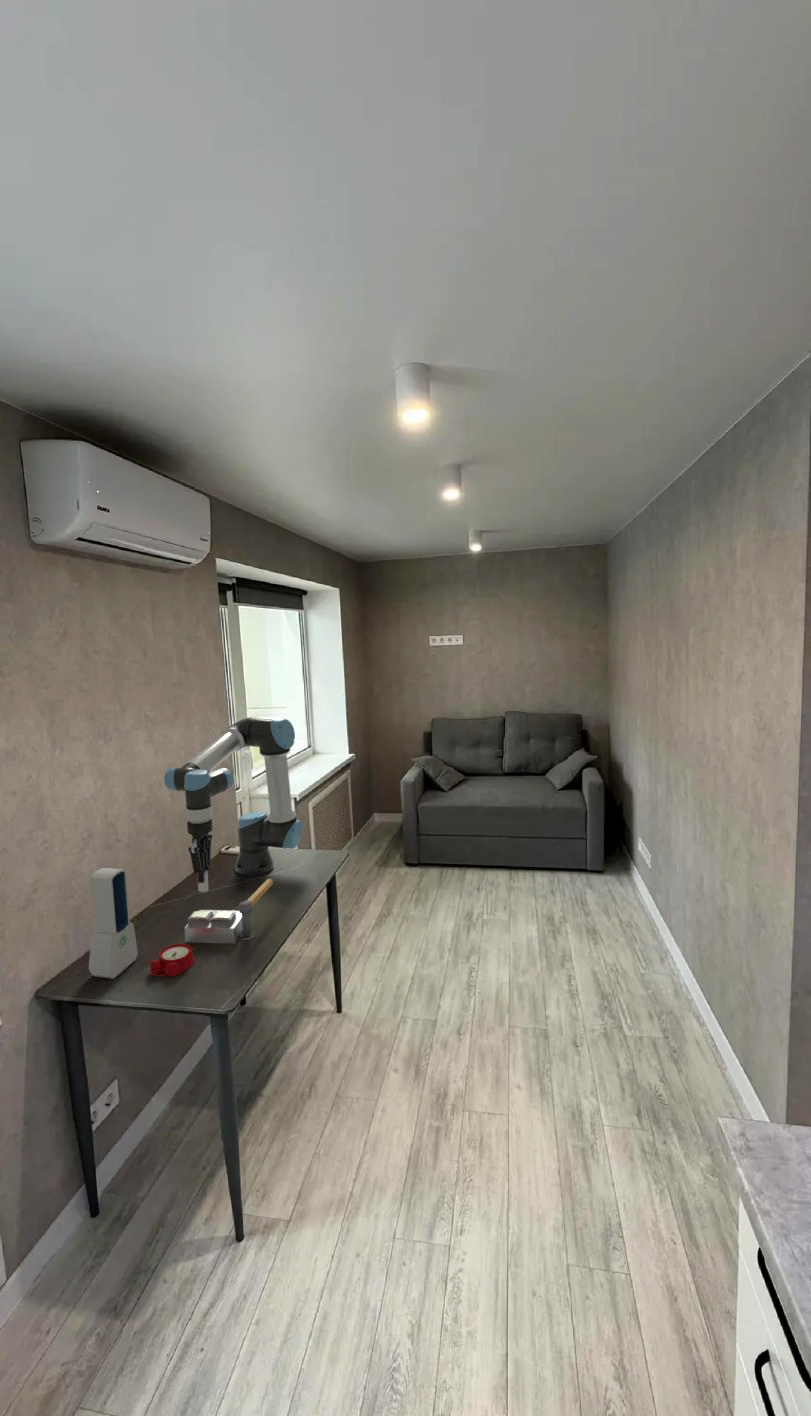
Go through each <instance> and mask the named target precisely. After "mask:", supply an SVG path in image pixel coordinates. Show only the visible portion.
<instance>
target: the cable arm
mask: <svg viewBox="0 0 811 1416" xmlns="http://www.w3.org/2000/svg"><path fill="white" fill-rule="evenodd" d="M272 885H274V882H273V878H267V879H266V880H265V881H264V882H263V883H262V884H261V885H260V886H259V887H258V888H257V889H256V891H254V893H253V894H252V895H250V896H249V897H248V898H247V900H243V901H241V902H239V904H238V908H239V909H238V911H239V912H240V913H242V929H243V932H242V933H243V937H249V936H251V932H252V925H251V921H252V920H251V912H252V911H253V906H254V905H255V904H256V903H257V902H258V901H259V899H260V898H261V897H262V896H264V894H265V893H266V892H267V891H268V890H269V889H270V888H271V887H272Z"/></svg>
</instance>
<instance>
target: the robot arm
mask: <svg viewBox="0 0 811 1416" xmlns="http://www.w3.org/2000/svg"><path fill="white" fill-rule="evenodd" d="M295 739H296V733H295V728H294V726H293V724H292V722H291V721H290V720H288V719H287V718H284V717H283V718H282V717H281V718H280V717H278V716H277V717H275V716H274V717H273V716H272V717H266V716H264V717H263V716H261V717H260V716H259V717H258V716H251V717H250V716H249V717H246V718H243V719H241V720H238V721H236V722H235V723H233V724H231V725H229V726H228V727H227V728H226V729H224V730H223V731H222V733H221V736H219V737H218V738H217V739H215V740H214V741H213V742H212V743H210V744H209V745H208V746H206V747H205V748H204V749H203V750H201V751H200V752H199V753H198V754H196V755H194V756H193V757H192V758H191V759H190V760H189V761H187V762H186V763H185V764H183V765H182V766H181V767H178V766H176V767H170V768H168V769H167V770H166V772H165V773H164V777H163V782H164V785H165V787H166V788H167V790H171V791H176V792H184V794H185V804H186V805H185V807H186V808H185V811H184V812H185V813H186V820H187V822H186V827H187V828H186V829H187V833H188V834H189V835H191V836H192V837H191V844H192V846H190V847H188V852H189V854H190V859H191V865H192V870H193V873H194V874H197V888H198V889H197V890H198V892H199V893H201V892H203V893H207V892H208V891H209V873H208V871H210V870H211V869H212V868H211V867H210V866H211V858H212V856H211V855H212V854H211V853H212V849H211V848H212V840H213V834H210V833H211V832H212V831H213V820H212V818H213V815H212V814H213V812H212V801H211V800H212V797H215V796H216V795H218V794H221V793H224V792H226V791H227V790H228V789H229V790H230V788H231V787H232V786H233V784H234V775H233V773H232V772H231V770H230V769H228V768H225V767H221V768H217V767H218V766H219V765H220V764H221V763H222V762H224V761H226V759H227V758H228V757H229V756H231V755H232V754H233V753H234V752H238V751H241V750H242V749H243V748H247V747H249V748H250V747H255V748H259V755H260V756H262V757H264V767H265V775H266V776H265V777H266V786H267V795H268V802H269V803H268V804H269V814H268V812H266V811H255V812H249V813H246V814H244V815H242V816H241V817H239V818H238V824H237V830H238V831H237V832H238V833H237V834H238V846H239V850H238V851H239V852H238V856H237V860H236V863H235V871H236V873H237V874H239V875H242V876H248V877H249V876H259V875H263V874H267V873H269V872H271V871H272V870H273V869H274V860H273V857H272V855H271V852H270V849H269V848H278V849H283V850H287V849H288V850H292V849H295V848H296V847H297V846H298V845H299V844H300V842H301V840H302V837H303V834H304V823H303V821H302V820H300V819H298V818H297V817H298V816H297V813H296V812H295V811H294V810H293V806H292V797H291V794H292V793H291V786H290V785H291V783H290V775H289V765H288V754H289V753H290V751H291V748H292V747H293V746H294V743H295ZM214 769H215V770H214Z"/></svg>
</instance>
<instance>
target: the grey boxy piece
mask: <svg viewBox="0 0 811 1416" xmlns="http://www.w3.org/2000/svg"><path fill="white" fill-rule="evenodd" d="M255 937H256V934H255V932H253V931H251V936H249V937H243V929H242V913H240V912H239V910H224V909H222V910H220V909H217V910H216V909H215V910H214V909H199V910H194V911H193V912H192V913H191V914H190V916H188V917H187V924H186V925H185V927H184V939H185V940H184V941H185V943H197V944H198V943H199V944H234V945H235V944H236V942H237V940H238V939H239V940H240V941H250V940H252V939H254V938H255Z"/></svg>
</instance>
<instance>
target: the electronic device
mask: <svg viewBox="0 0 811 1416" xmlns="http://www.w3.org/2000/svg"><path fill="white" fill-rule="evenodd" d="M127 879H128V878H127V870H126V869H123V868H121V869H120V868H110V867H108V868H107V867H102V868H99V869H96V870H95V871H94V872H93V873H92V874H91V875H90V877H89V881H90V882H89V883H90V892H91V905H92V917H93V918H92V919H93V930H94V932H93V935H92V937H91V939H90V948H89V949H90V950H89V959H88V970H89V972H90V974H91V975H92V976H93V977H96V978H104V979H112V980H113V979H115V978H117V976H118V975H120V974H121V973H122V972H123V971H124V970H126V969H127V968H128V967H129V966H130V965H132V964H133V962H135V961H136V960H137V957H138V954H139V952H138V945H137V944H138V943H137V939H136V931H135V925H134V922H131V919H130V918H131V917H130V907H129V892H128V880H127Z"/></svg>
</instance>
